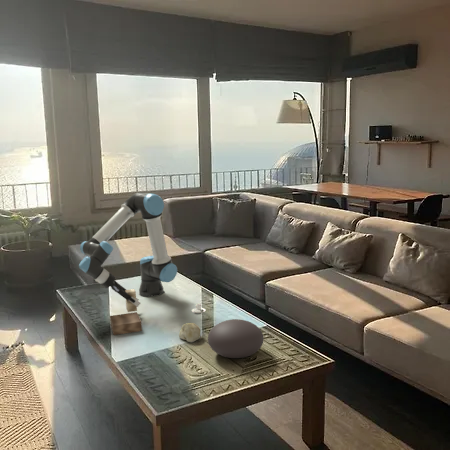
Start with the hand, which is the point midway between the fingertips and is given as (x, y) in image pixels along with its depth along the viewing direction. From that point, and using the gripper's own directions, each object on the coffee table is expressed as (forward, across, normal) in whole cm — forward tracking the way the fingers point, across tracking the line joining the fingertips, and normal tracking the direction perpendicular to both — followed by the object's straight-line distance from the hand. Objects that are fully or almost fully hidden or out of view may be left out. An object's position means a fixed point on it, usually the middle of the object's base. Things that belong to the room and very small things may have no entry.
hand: (138, 303), depth 272 cm
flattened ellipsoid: (+27, +67, +18) cm, 75 cm away
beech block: (0, 0, -5) cm, 5 cm away
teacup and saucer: (+25, +9, +16) cm, 31 cm away
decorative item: (+17, +43, +8) cm, 47 cm away
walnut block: (-3, +18, -11) cm, 21 cm away
